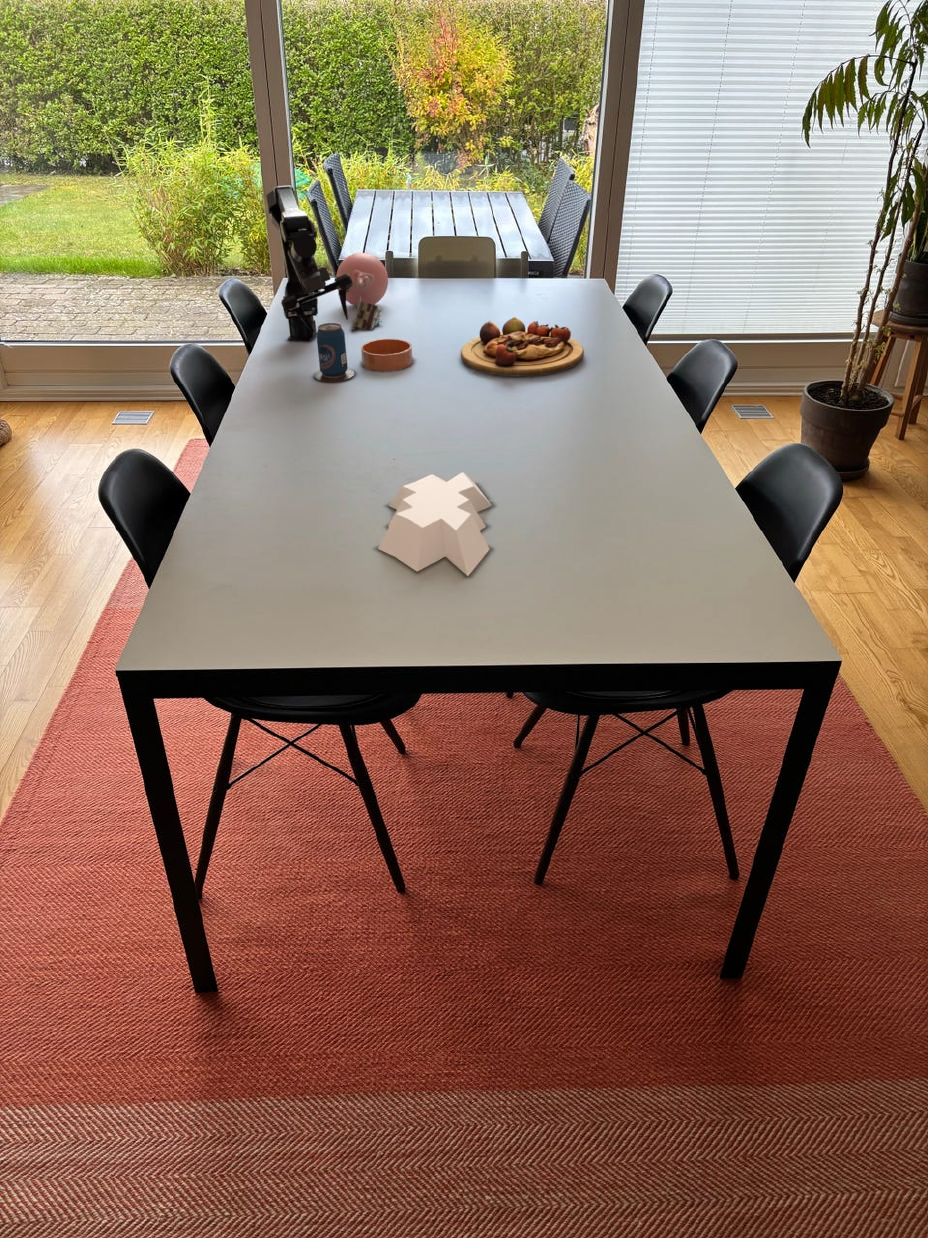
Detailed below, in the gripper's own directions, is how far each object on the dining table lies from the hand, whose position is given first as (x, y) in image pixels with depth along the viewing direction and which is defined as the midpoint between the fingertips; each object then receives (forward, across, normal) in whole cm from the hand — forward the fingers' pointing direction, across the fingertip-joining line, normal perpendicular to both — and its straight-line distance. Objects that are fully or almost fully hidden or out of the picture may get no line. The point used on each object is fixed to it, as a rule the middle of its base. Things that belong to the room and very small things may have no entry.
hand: (330, 326), depth 252 cm
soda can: (+12, -4, -7) cm, 14 cm away
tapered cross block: (+48, +1, -84) cm, 97 cm away
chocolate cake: (+1, +11, +30) cm, 32 cm away
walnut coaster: (+12, -4, -7) cm, 14 cm away
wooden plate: (+26, +43, -3) cm, 50 cm away
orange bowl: (+14, +10, 0) cm, 17 cm away
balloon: (-6, +13, +46) cm, 48 cm away
